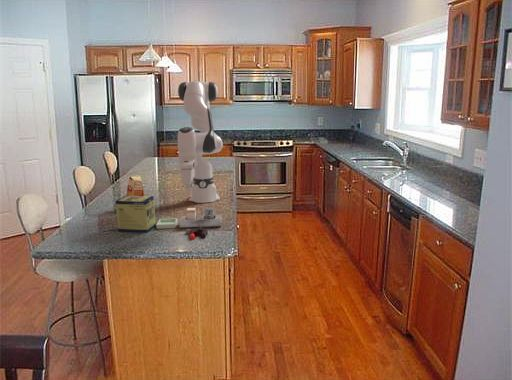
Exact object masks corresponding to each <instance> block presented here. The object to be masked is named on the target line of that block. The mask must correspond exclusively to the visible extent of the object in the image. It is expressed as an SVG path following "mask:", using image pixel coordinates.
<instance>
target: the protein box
mask: <svg viewBox="0 0 512 380" xmlns="http://www.w3.org/2000/svg"><path fill="white" fill-rule="evenodd" d="M154 197H155V196H154V195H145V196H127V195H124V196H122V197H121V198H119V199H117V200H115V210H116V211H115V212H116V220H117V221H116V222H117V231H118V232H121V233H122V232H125V233H145V234H146V233H147V234H148V233H149V232H150V231H152V229H154V228H155V227H156V224H157V223H156V214H155V213H156V211H155V210H156V209H155V198H154Z"/></svg>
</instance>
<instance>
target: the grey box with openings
mask: <svg viewBox="0 0 512 380" xmlns="http://www.w3.org/2000/svg"><path fill="white" fill-rule="evenodd" d="M178 221H179V229H200V225H199V224H201V229H203V228H221V227H222V214H215V207H210V206H209V207H207V206H206V207H205V208H204V214H199V215H198V214H196V219H190V220H187V215H181V217H179V220H178Z"/></svg>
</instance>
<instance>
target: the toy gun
mask: <svg viewBox="0 0 512 380" xmlns="http://www.w3.org/2000/svg"><path fill="white" fill-rule="evenodd" d="M199 225H200V228H185V231H184V232H185V235H189V237H190V239H191V240H192V241H193V240H195V239H196V237H201V239H206V236H208V234H209V233H208V230H207V229H203V228H201V224H199Z"/></svg>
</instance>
